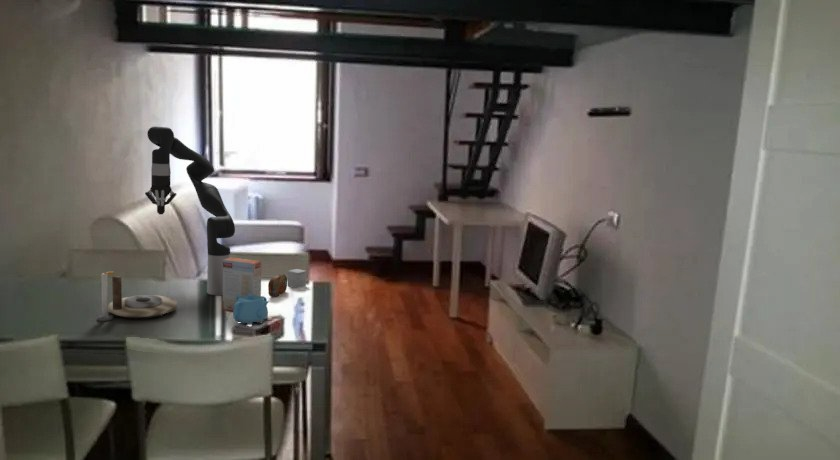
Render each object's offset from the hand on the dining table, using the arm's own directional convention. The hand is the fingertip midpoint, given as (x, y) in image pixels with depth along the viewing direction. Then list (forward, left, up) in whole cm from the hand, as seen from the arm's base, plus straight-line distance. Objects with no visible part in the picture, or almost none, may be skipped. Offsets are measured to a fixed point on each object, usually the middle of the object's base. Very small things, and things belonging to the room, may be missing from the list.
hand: (161, 214), depth 276 cm
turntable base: (-4, +38, -32) cm, 50 cm away
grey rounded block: (-58, -8, -32) cm, 67 cm away
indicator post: (+6, +48, -32) cm, 58 cm away
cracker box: (-40, +34, -32) cm, 62 cm away
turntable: (-4, +38, -30) cm, 49 cm away
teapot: (-46, +48, -32) cm, 74 cm away
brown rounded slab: (-51, +8, -32) cm, 61 cm away
